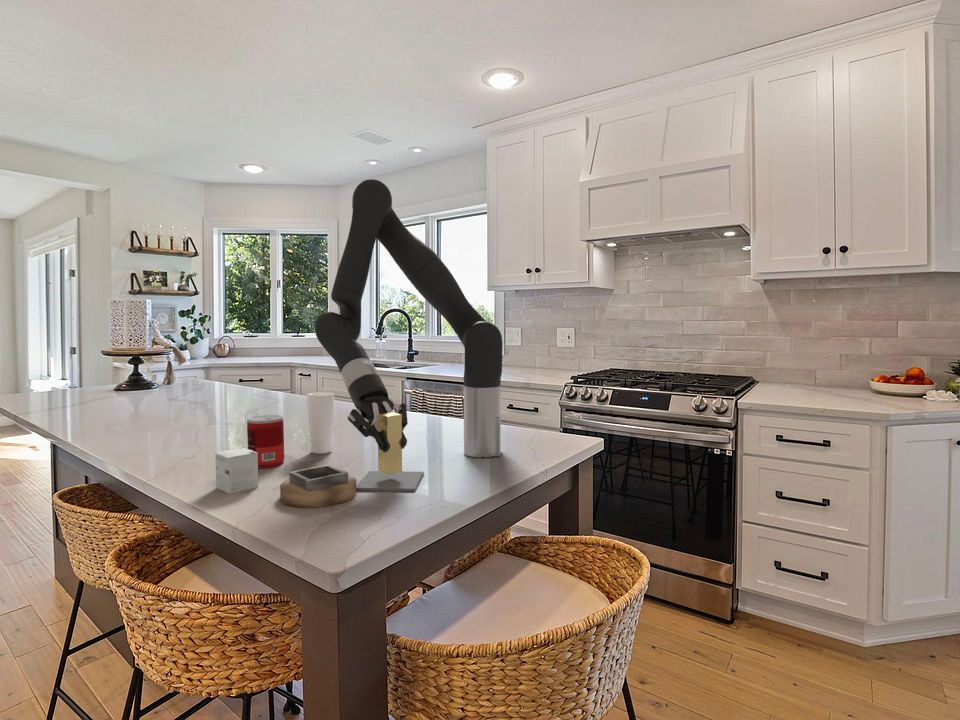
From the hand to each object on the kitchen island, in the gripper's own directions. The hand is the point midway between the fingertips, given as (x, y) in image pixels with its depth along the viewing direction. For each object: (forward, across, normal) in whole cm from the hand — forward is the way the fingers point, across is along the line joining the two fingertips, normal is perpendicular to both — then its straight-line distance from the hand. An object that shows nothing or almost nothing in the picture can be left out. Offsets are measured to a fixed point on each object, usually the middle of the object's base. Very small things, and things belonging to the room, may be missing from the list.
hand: (395, 448), depth 111 cm
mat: (+4, 0, +7) cm, 8 cm away
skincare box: (-8, -25, +19) cm, 32 cm away
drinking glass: (-20, +1, +31) cm, 37 cm away
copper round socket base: (+2, -15, +8) cm, 17 cm away
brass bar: (+2, 0, +5) cm, 6 cm away
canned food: (-18, -13, +29) cm, 37 cm away
